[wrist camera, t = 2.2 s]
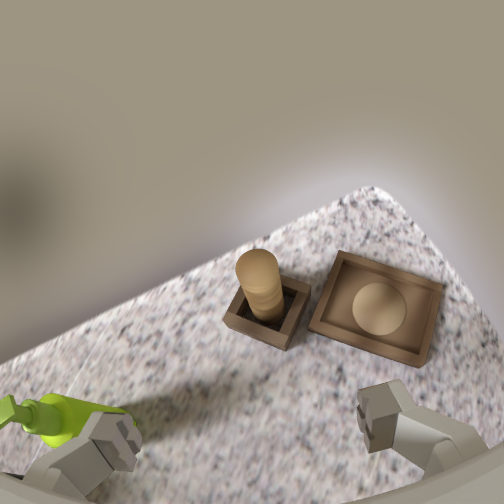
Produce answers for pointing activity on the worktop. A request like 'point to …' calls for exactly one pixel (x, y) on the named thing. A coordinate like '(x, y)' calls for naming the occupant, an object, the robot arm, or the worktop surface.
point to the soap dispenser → (52, 416)
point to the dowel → (262, 285)
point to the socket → (265, 334)
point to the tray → (378, 309)
